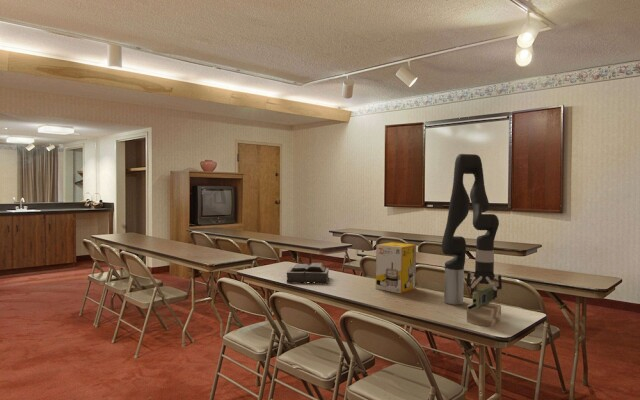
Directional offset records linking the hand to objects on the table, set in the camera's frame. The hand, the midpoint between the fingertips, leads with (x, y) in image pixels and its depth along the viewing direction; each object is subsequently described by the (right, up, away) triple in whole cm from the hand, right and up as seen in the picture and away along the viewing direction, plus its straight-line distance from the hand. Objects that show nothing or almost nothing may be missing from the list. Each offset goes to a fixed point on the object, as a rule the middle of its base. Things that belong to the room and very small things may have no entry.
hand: (483, 297), depth 194 cm
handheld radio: (-1, -4, +1) cm, 4 cm away
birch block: (0, -11, 0) cm, 11 cm away
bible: (-78, -7, +80) cm, 112 cm away
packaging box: (-28, -8, +60) cm, 67 cm away
